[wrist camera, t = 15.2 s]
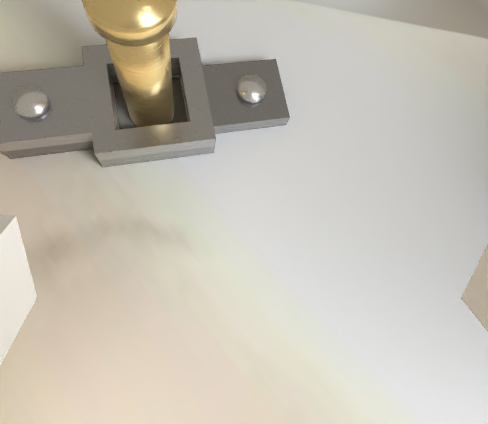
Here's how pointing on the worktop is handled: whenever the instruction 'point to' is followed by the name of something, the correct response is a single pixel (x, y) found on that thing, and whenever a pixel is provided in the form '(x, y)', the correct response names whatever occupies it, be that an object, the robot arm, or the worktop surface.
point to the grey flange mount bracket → (106, 117)
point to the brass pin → (139, 53)
